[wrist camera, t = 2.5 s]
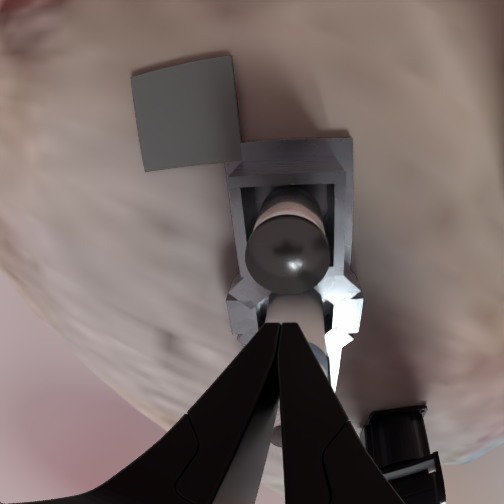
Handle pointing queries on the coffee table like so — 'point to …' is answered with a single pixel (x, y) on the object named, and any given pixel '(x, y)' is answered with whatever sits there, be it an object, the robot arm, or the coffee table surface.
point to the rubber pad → (188, 114)
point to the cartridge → (302, 318)
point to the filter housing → (334, 221)
